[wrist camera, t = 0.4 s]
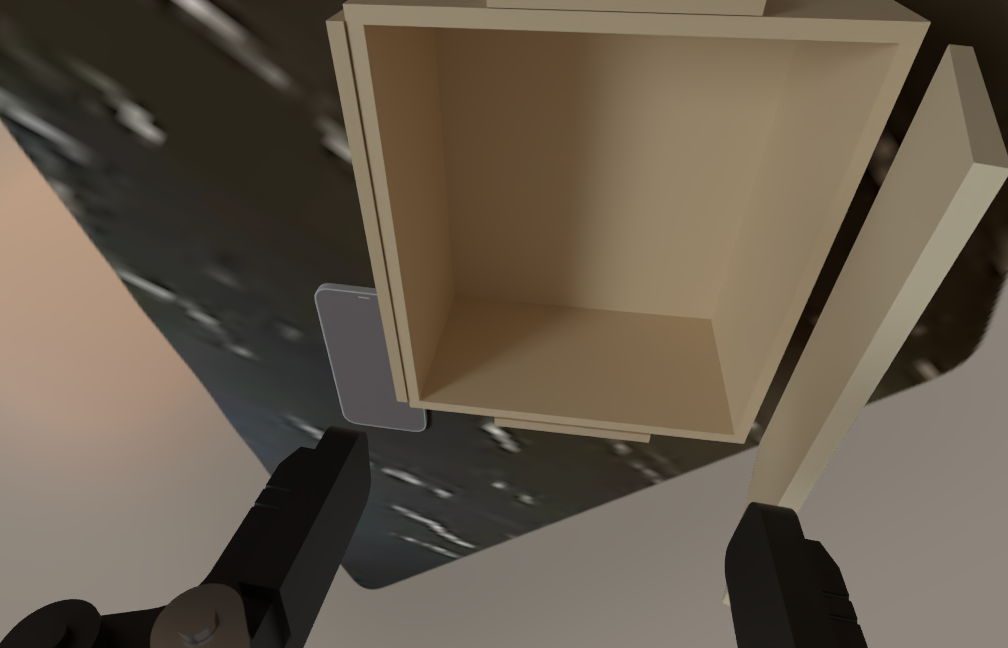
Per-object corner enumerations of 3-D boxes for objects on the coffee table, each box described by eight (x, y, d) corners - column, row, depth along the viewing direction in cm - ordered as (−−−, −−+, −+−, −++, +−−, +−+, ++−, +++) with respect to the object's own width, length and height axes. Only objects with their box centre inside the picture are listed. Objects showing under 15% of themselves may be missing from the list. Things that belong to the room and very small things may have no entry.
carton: (404, -62, 26) (318, -20, 18) (837, -55, 24) (943, -2, 16) (439, 304, 40) (399, 414, 32) (714, 328, 38) (740, 452, 30)
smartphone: (344, 422, 50) (310, 286, 40) (347, 414, 50) (315, 278, 40) (427, 433, 49) (414, 298, 39) (429, 424, 50) (417, 290, 40)
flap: (973, 162, 11) (1012, 169, 10) (948, 44, 17) (972, 46, 16) (721, 602, 23) (737, 609, 23) (759, 443, 29) (771, 448, 29)
